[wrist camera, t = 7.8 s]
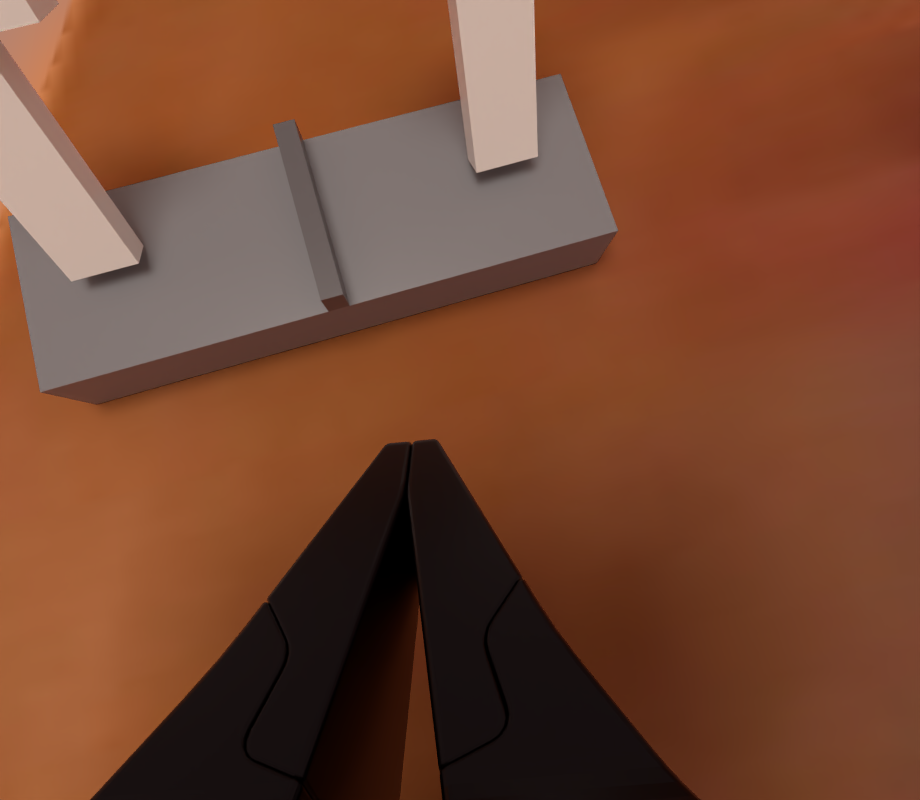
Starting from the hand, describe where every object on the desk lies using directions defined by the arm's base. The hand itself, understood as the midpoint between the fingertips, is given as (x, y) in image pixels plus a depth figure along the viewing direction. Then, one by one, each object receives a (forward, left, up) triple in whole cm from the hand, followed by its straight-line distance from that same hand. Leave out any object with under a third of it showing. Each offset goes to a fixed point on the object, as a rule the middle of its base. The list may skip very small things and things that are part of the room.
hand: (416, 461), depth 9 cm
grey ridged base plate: (+10, +2, -13) cm, 17 cm away
